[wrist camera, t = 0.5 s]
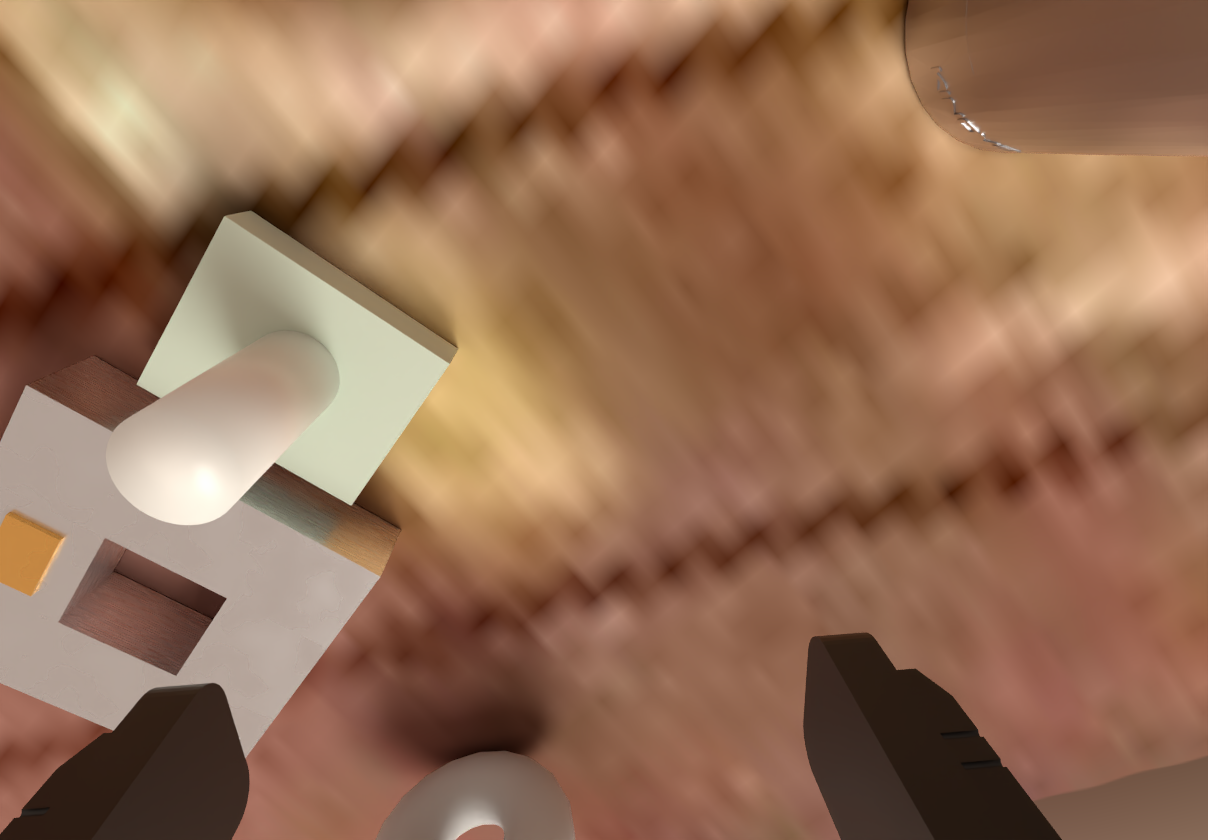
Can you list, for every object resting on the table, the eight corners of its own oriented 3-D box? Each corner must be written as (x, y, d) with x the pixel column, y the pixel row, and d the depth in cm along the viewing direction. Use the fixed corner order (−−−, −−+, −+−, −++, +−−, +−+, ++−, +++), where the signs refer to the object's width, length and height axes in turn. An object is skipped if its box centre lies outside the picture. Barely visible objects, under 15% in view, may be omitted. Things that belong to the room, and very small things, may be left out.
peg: (272, 312, 24) (136, 385, 16) (356, 364, 25) (262, 457, 17) (231, 383, 25) (86, 482, 17) (313, 431, 26) (207, 546, 18)
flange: (93, 355, 26) (21, 386, 23) (401, 530, 30) (379, 579, 26) (-22, 590, 30) (-98, 647, 27) (262, 719, 34) (227, 783, 30)
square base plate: (251, 210, 24) (224, 215, 23) (458, 348, 27) (449, 363, 25) (166, 367, 27) (136, 384, 25) (365, 482, 29) (351, 505, 27)
